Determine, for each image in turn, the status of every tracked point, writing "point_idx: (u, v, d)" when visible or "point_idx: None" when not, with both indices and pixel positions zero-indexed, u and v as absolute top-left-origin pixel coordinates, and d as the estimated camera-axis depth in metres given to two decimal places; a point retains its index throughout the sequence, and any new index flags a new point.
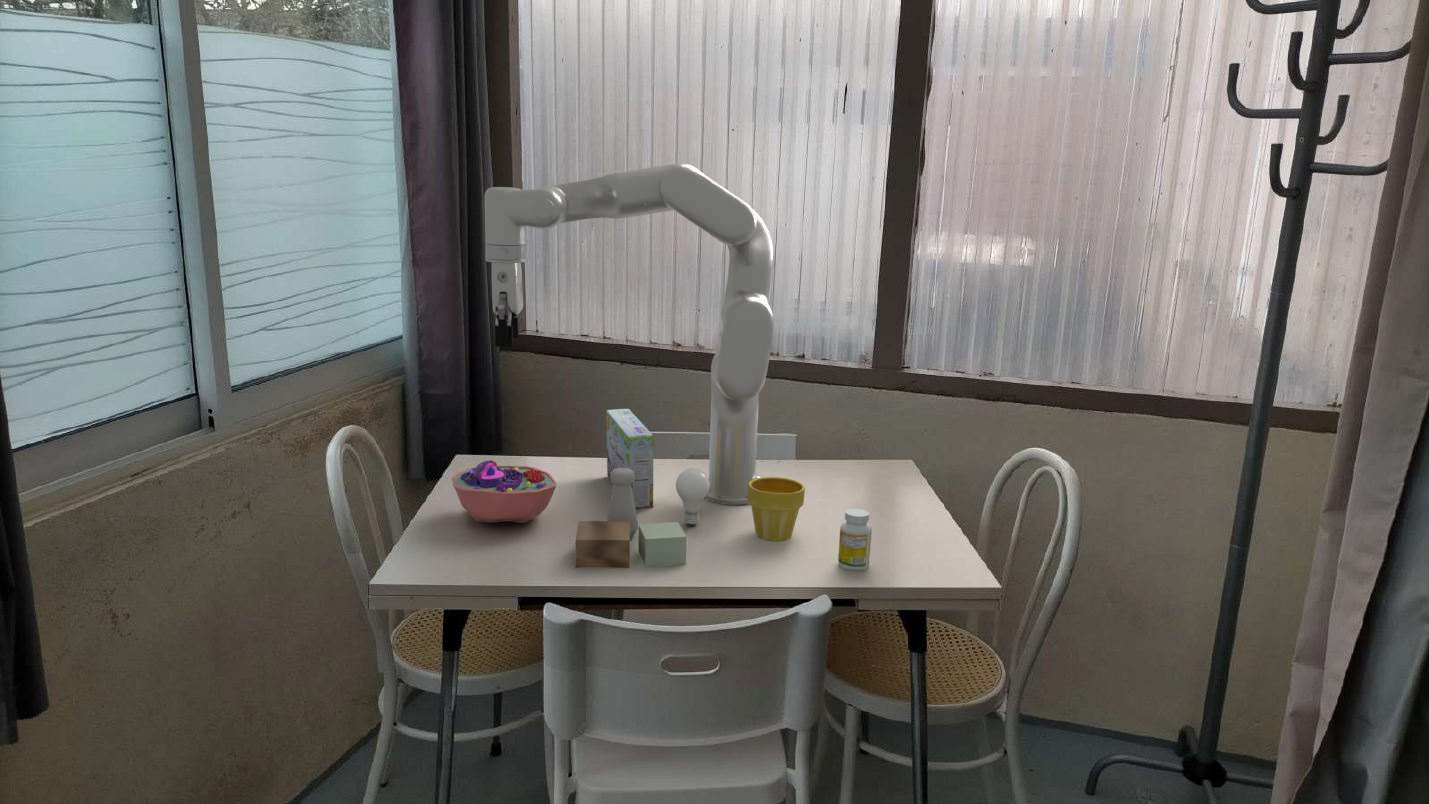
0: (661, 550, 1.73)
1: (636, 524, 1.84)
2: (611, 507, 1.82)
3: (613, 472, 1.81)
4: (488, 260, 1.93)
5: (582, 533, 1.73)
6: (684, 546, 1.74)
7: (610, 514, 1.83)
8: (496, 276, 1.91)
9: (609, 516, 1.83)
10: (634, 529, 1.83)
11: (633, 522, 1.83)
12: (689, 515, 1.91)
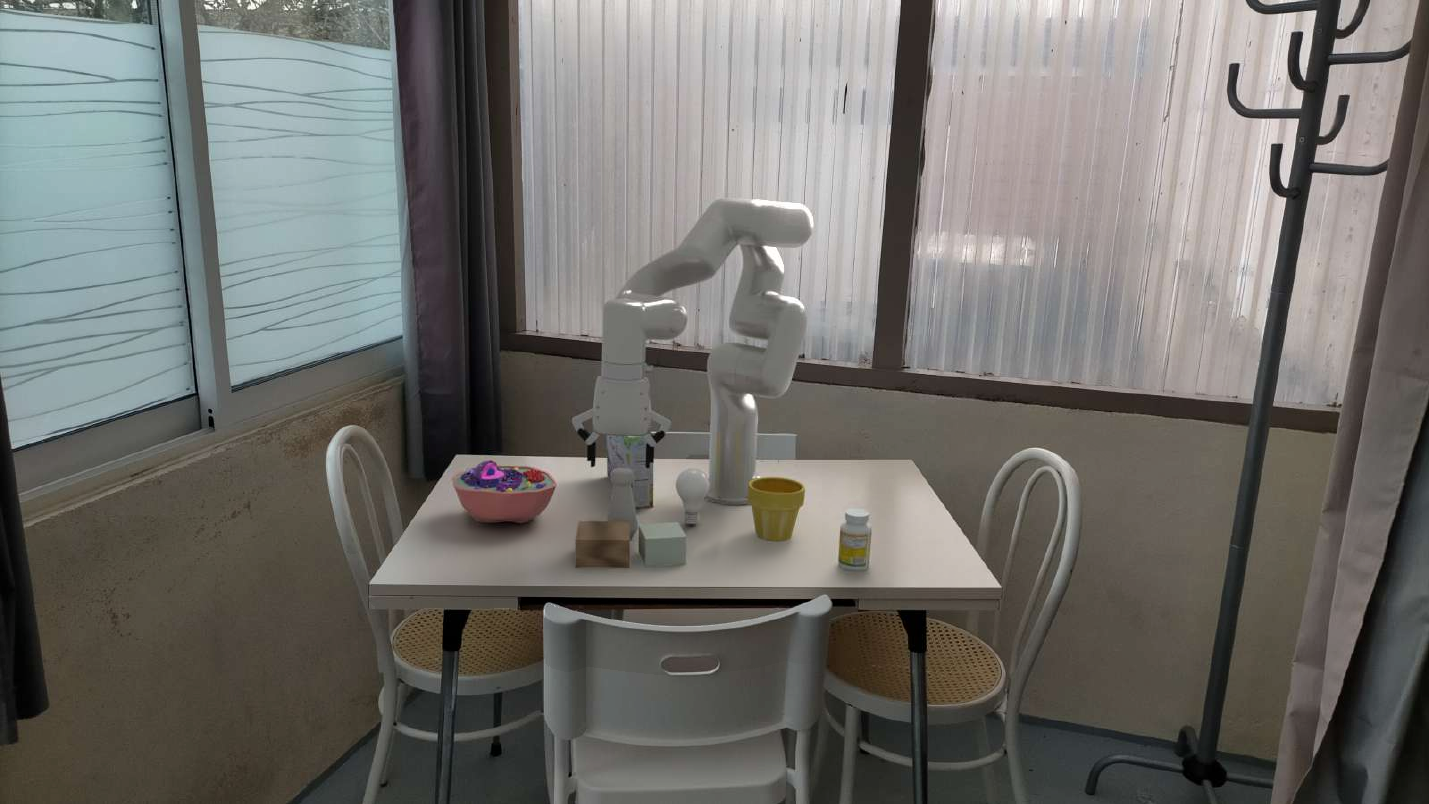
0: (661, 550, 1.73)
1: (636, 524, 1.84)
2: (611, 507, 1.82)
3: (613, 472, 1.81)
4: (636, 381, 1.75)
5: (582, 533, 1.73)
6: (684, 546, 1.74)
7: (610, 514, 1.83)
8: (649, 394, 1.78)
9: (609, 516, 1.83)
10: (634, 529, 1.83)
11: (633, 522, 1.83)
12: (689, 515, 1.91)
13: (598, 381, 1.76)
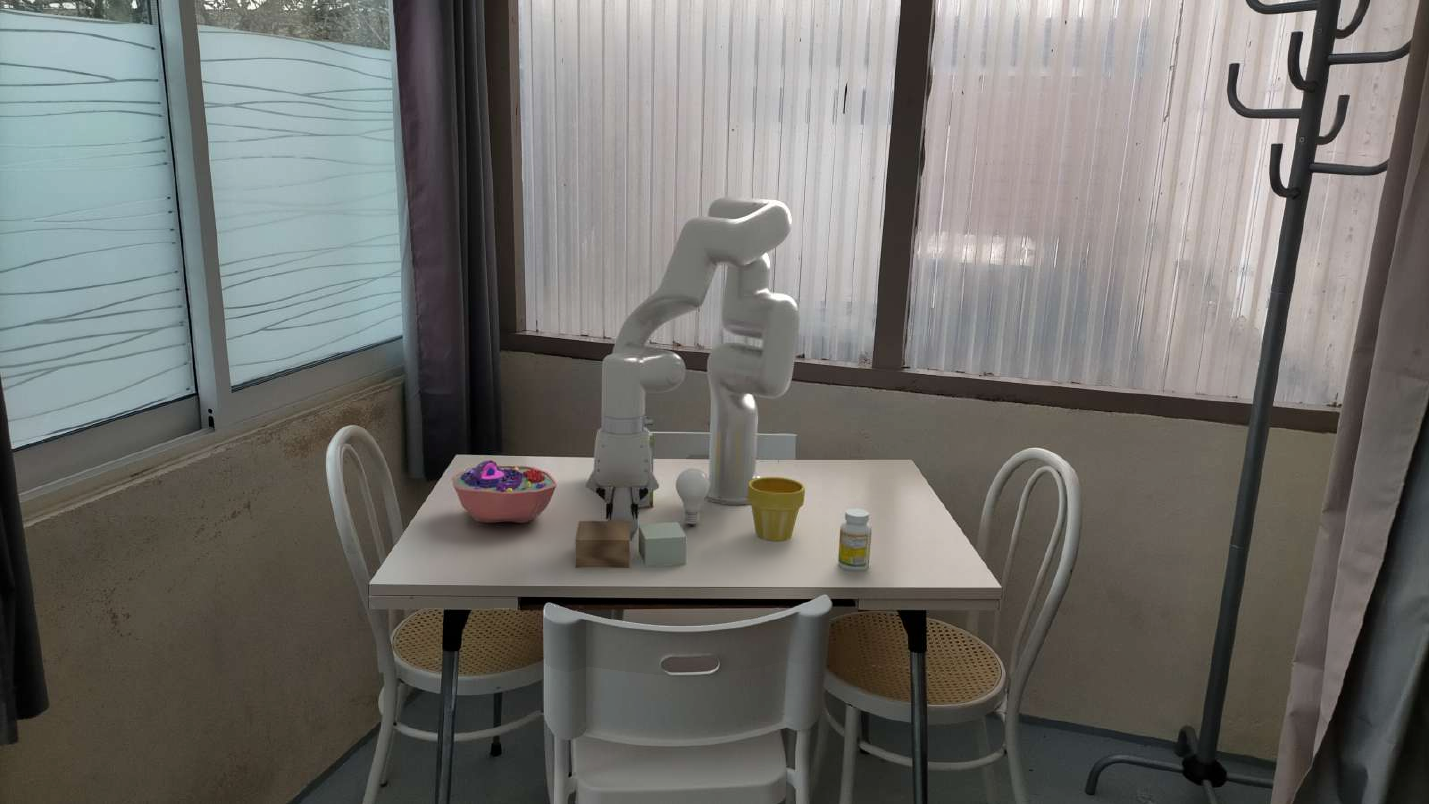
0: (661, 550, 1.73)
1: (637, 524, 1.84)
2: None
3: None
4: (635, 435, 1.78)
5: (582, 533, 1.73)
6: (684, 546, 1.74)
7: None
8: (649, 447, 1.80)
9: (609, 516, 1.83)
10: (634, 529, 1.83)
11: (633, 522, 1.83)
12: (689, 515, 1.91)
13: (598, 435, 1.79)
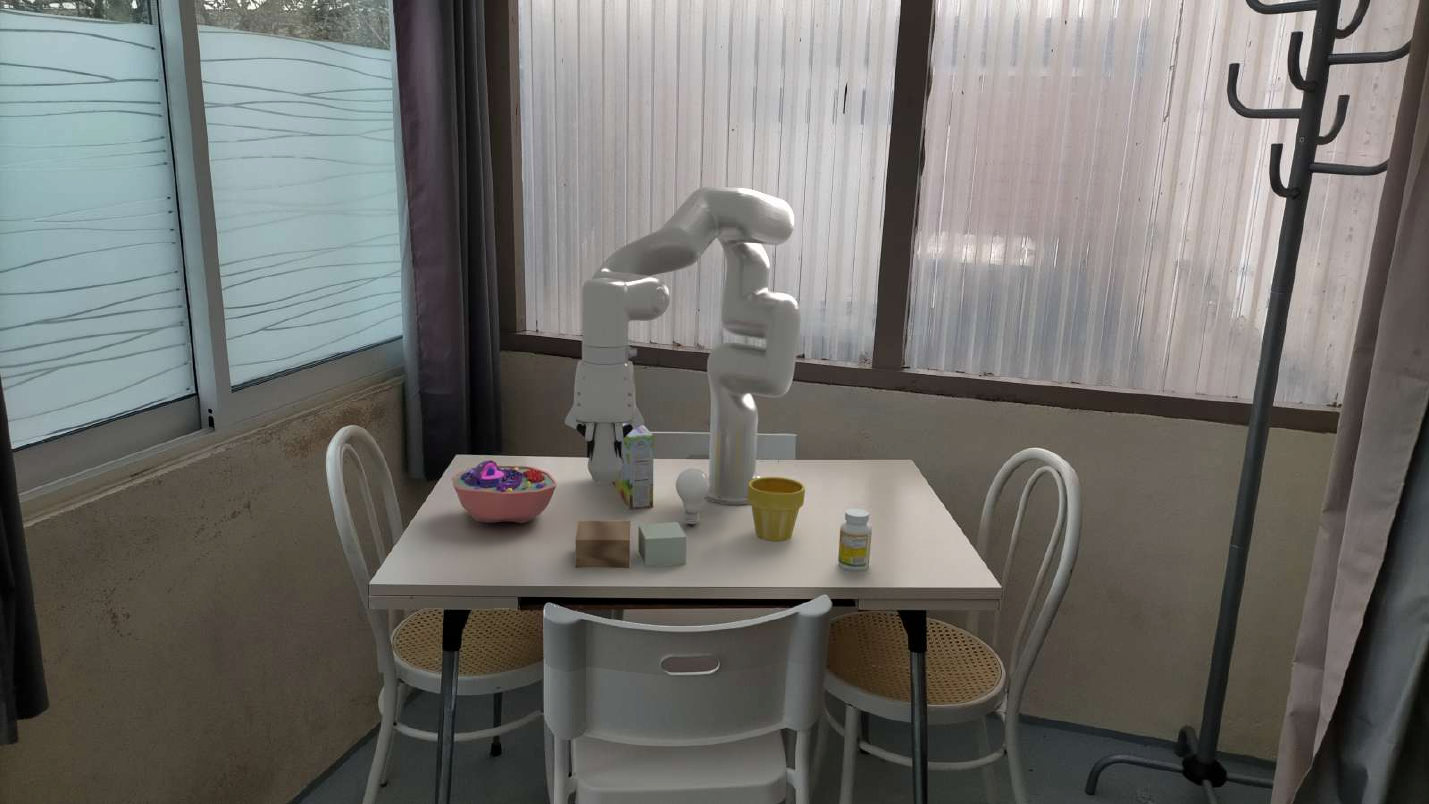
0: (661, 550, 1.73)
1: (620, 463, 1.72)
2: None
3: None
4: (618, 365, 1.65)
5: (582, 533, 1.73)
6: (684, 546, 1.74)
7: None
8: (633, 379, 1.68)
9: None
10: (618, 469, 1.71)
11: (616, 461, 1.70)
12: (689, 515, 1.91)
13: (579, 366, 1.67)
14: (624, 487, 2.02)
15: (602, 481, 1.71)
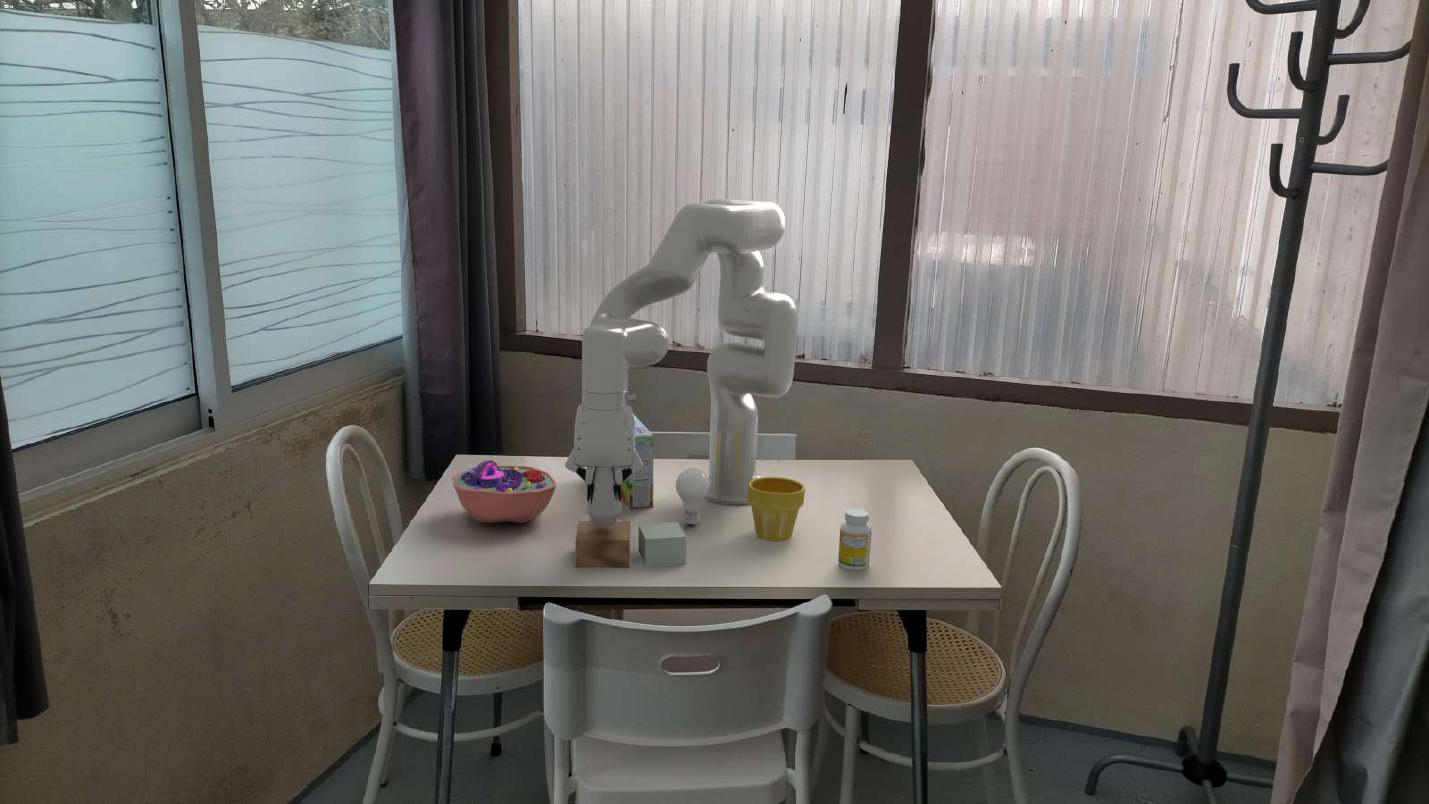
0: (661, 550, 1.73)
1: (620, 506, 1.73)
2: None
3: None
4: (618, 411, 1.67)
5: (582, 533, 1.73)
6: (684, 546, 1.74)
7: None
8: (632, 424, 1.70)
9: (590, 498, 1.72)
10: (617, 512, 1.73)
11: (616, 504, 1.72)
12: (689, 515, 1.91)
13: (579, 411, 1.68)
14: (624, 487, 2.02)
15: (602, 524, 1.73)
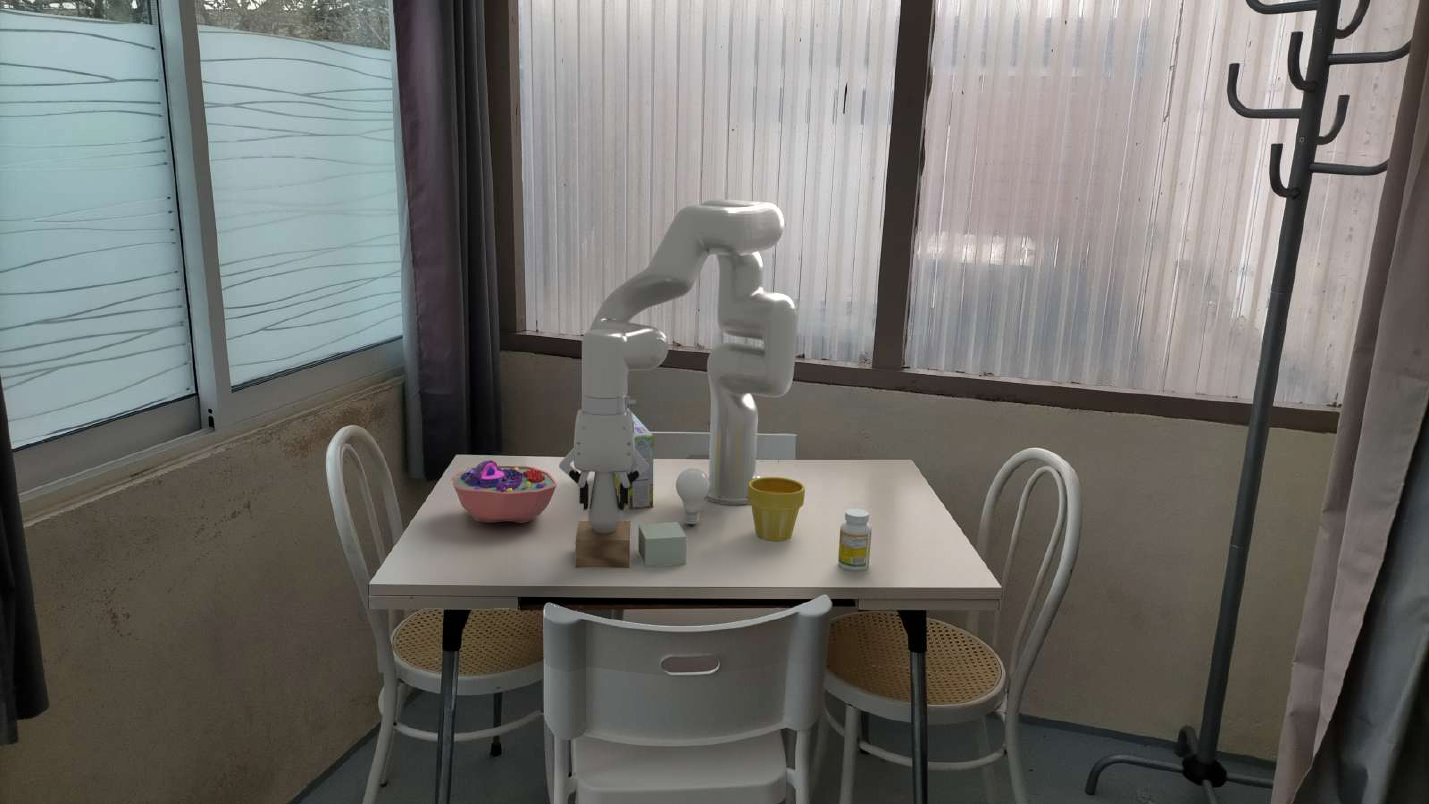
0: (661, 550, 1.73)
1: (620, 514, 1.74)
2: (593, 497, 1.72)
3: None
4: (618, 415, 1.67)
5: (582, 533, 1.73)
6: (684, 546, 1.74)
7: (592, 504, 1.73)
8: (632, 429, 1.70)
9: (591, 506, 1.73)
10: (618, 520, 1.73)
11: (616, 512, 1.73)
12: (689, 515, 1.91)
13: (578, 416, 1.69)
14: None
15: (603, 532, 1.73)
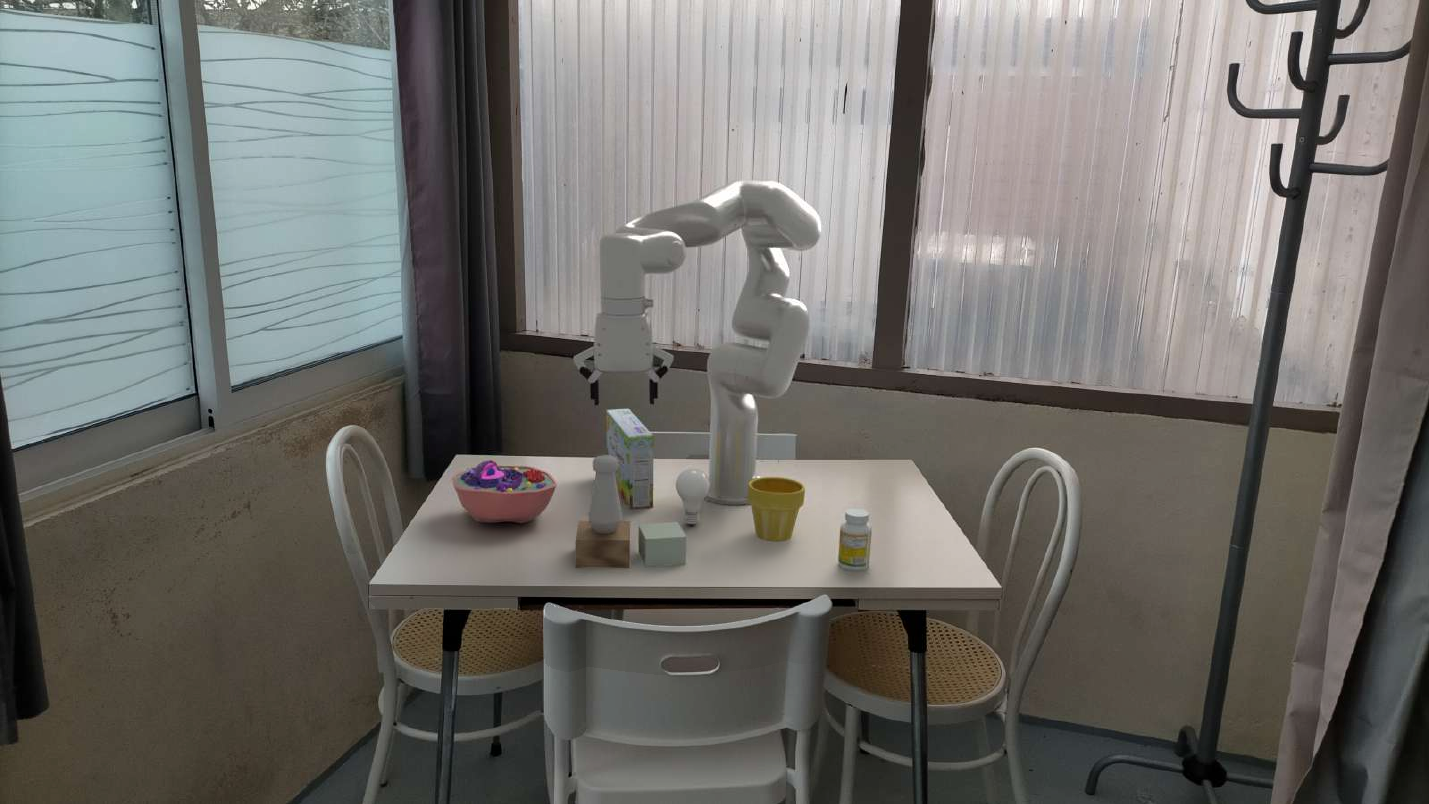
0: (661, 550, 1.73)
1: (620, 514, 1.74)
2: (593, 497, 1.72)
3: (595, 460, 1.71)
4: (636, 316, 1.73)
5: (582, 533, 1.73)
6: (684, 546, 1.74)
7: (592, 504, 1.73)
8: (650, 329, 1.75)
9: (591, 506, 1.73)
10: (618, 520, 1.73)
11: (617, 512, 1.73)
12: (689, 515, 1.91)
13: (598, 318, 1.74)
14: (624, 487, 2.02)
15: (603, 532, 1.73)
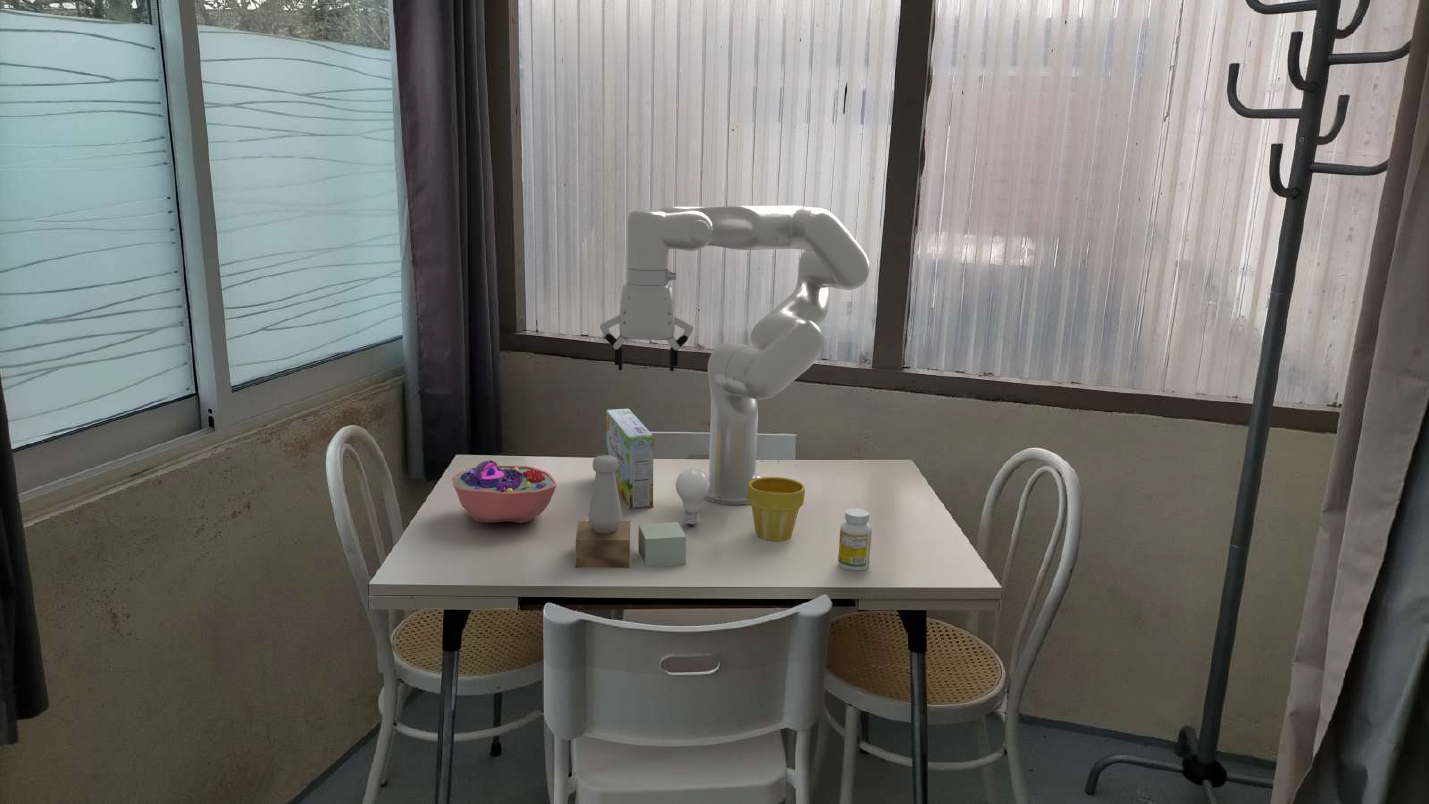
0: (661, 550, 1.73)
1: (620, 514, 1.74)
2: (593, 497, 1.72)
3: (595, 460, 1.71)
4: (660, 287, 1.86)
5: (582, 533, 1.73)
6: (684, 546, 1.74)
7: (592, 504, 1.73)
8: (672, 300, 1.88)
9: (591, 506, 1.73)
10: (618, 520, 1.73)
11: (617, 512, 1.73)
12: (689, 515, 1.91)
13: (624, 288, 1.87)
14: (624, 487, 2.02)
15: (603, 532, 1.73)
